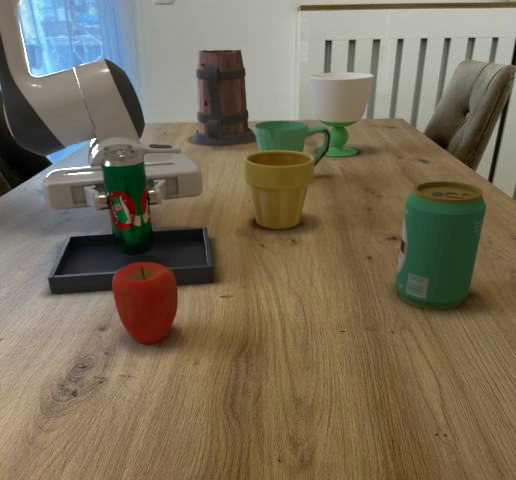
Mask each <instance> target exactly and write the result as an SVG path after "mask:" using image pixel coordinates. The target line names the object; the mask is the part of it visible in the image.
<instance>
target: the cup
mask: <svg viewBox="0 0 516 480" xmlns="http://www.w3.org/2000/svg"><path fill="white" fill-rule="evenodd" d="M374 79H375V75H374V74H373V73H368V72H367V73H366V72H349V71H347V72H346V71H345V72H344V71H342V72H341V71H340V72H339V71H338V72H320V73H314V74H311V75H309V82H310V84H309V85H310V90H311V96H312V102H313V110H314V115H315V116H316V118H317V120H318V121H319V122H320V123H321V124H323V125H325V126H327V127H332V128H330V129H329V131H330V132H331V138H330V144H329V145H330V146H329V150H328V152H327V153H326V154H325V155H324V157H335V158H340V157H342V158H343V157H351V156H354V155H357V154H358V150H357V149H355V148H351V147H347V146H345V145H346V144H347V143H348V141H349V140H348V139H349V132H348V130H347V129H346V127H350V126H352V125H354V124H357V123H358V122H359V121H360V120H362V118H363V117H364V115H365V113H366V110H367V105H368V102H369V97H370V94H371V90H372V86H373V82H374ZM344 146H345V147H344ZM319 150H320V148H319V149H318V150H317V152H316V153H318V151H319Z"/></svg>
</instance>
